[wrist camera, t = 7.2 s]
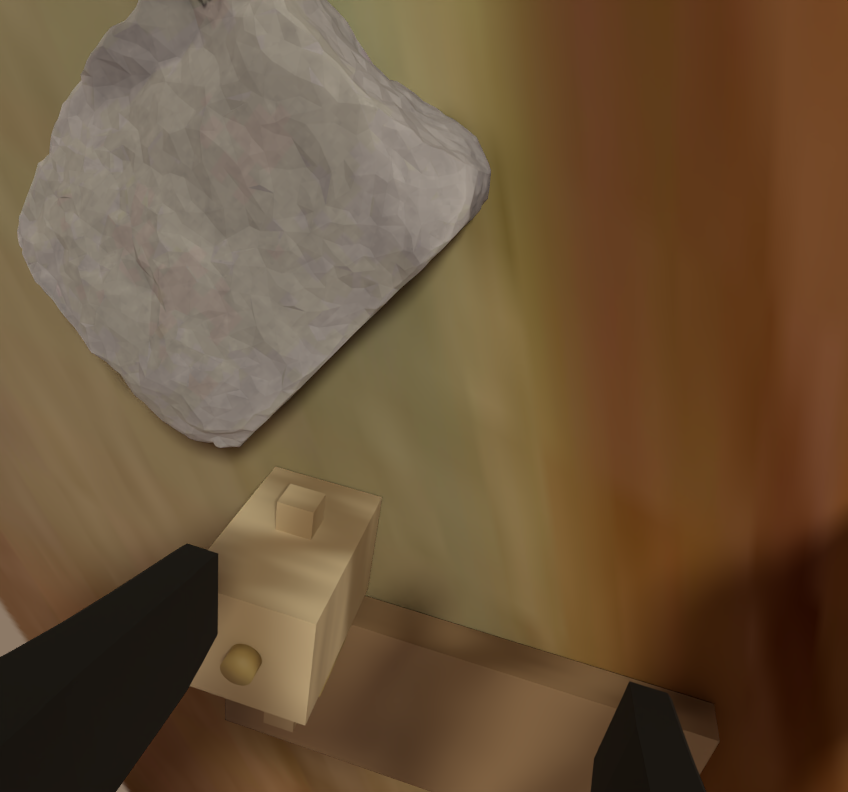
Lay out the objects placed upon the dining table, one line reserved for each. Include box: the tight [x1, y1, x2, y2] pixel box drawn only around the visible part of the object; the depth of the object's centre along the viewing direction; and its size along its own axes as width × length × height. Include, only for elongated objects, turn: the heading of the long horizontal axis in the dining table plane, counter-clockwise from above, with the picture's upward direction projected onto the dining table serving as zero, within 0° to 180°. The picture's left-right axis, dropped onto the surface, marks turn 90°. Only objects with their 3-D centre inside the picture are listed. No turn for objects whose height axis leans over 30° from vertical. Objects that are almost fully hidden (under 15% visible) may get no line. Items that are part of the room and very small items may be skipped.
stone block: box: [17, 0, 491, 448], centre depth 19 cm, size 12×5×10 cm
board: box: [225, 596, 720, 792], centre depth 26 cm, size 18×8×2 cm, turn 81°
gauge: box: [190, 467, 382, 732], centre depth 23 cm, size 4×11×7 cm, turn 171°
